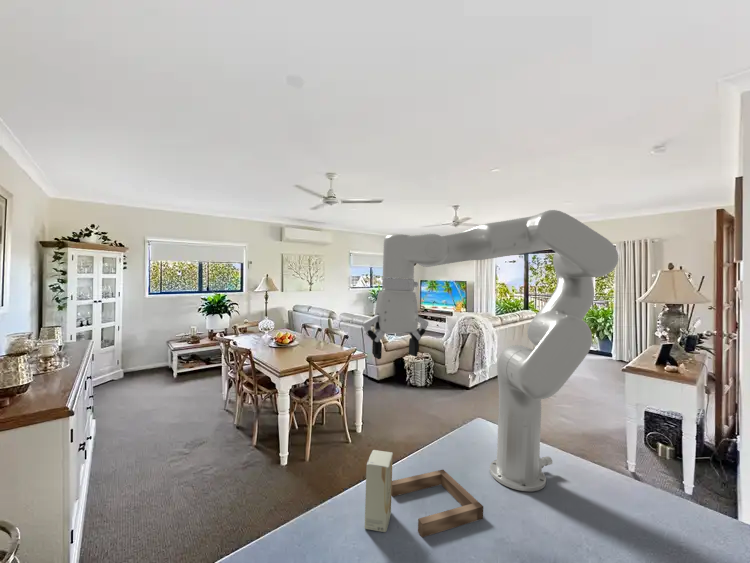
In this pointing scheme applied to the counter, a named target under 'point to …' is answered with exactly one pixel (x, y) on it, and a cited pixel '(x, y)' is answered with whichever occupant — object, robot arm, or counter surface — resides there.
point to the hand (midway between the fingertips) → (395, 356)
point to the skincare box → (378, 490)
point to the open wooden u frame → (448, 518)
